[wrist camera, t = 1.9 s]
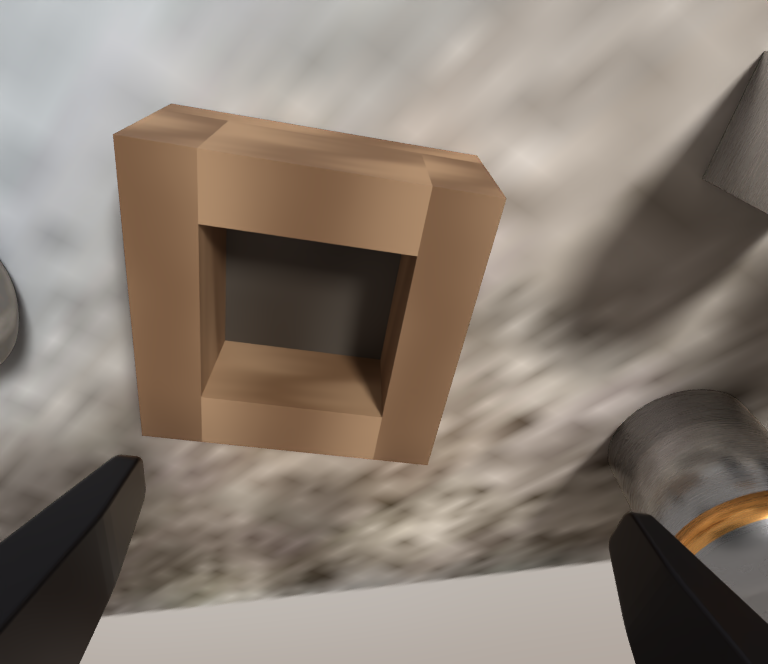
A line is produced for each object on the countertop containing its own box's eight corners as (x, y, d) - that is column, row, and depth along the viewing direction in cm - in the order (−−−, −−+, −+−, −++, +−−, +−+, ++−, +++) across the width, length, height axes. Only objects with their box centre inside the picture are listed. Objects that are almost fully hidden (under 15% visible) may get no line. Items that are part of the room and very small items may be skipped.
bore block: (476, 155, 18) (506, 198, 14) (417, 388, 23) (427, 465, 19) (171, 103, 17) (113, 134, 13) (181, 359, 22) (142, 435, 18)
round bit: (780, 397, 24) (916, 529, 18) (708, 497, 27) (801, 635, 21) (642, 380, 23) (735, 510, 17) (586, 485, 27) (648, 624, 21)
